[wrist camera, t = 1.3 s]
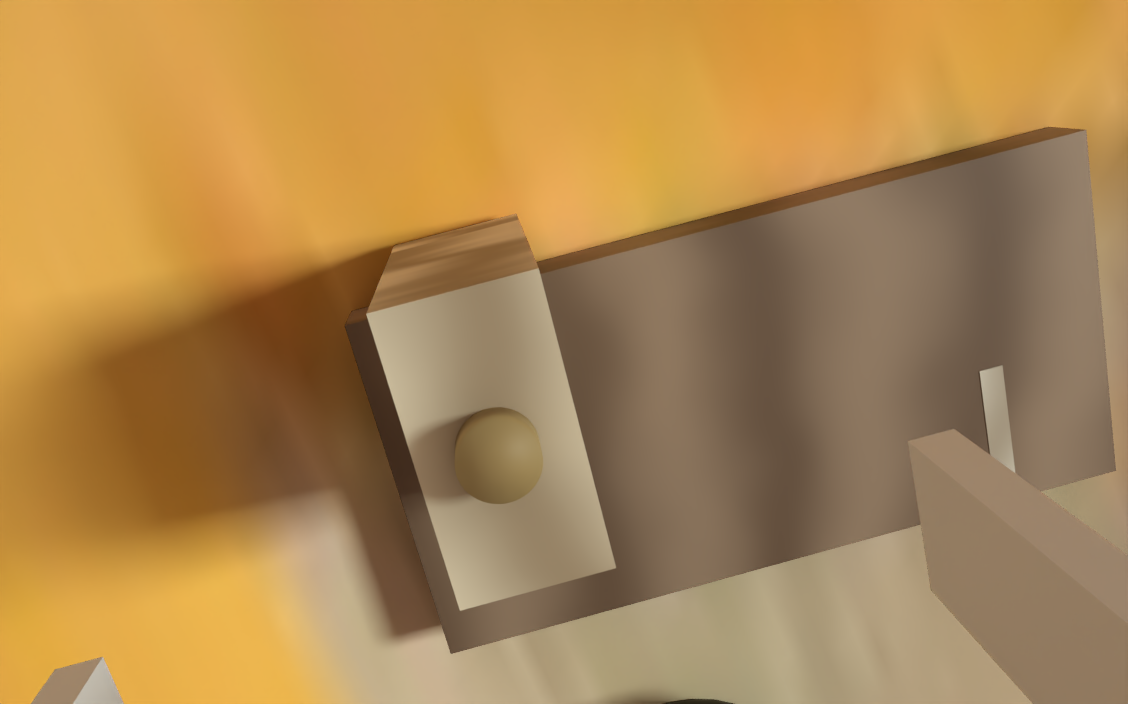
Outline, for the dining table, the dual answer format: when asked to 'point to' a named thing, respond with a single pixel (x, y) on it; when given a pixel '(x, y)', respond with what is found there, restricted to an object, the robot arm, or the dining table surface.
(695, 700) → the french press
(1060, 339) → the board
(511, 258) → the block
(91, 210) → the dining table surface
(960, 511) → the robot arm
